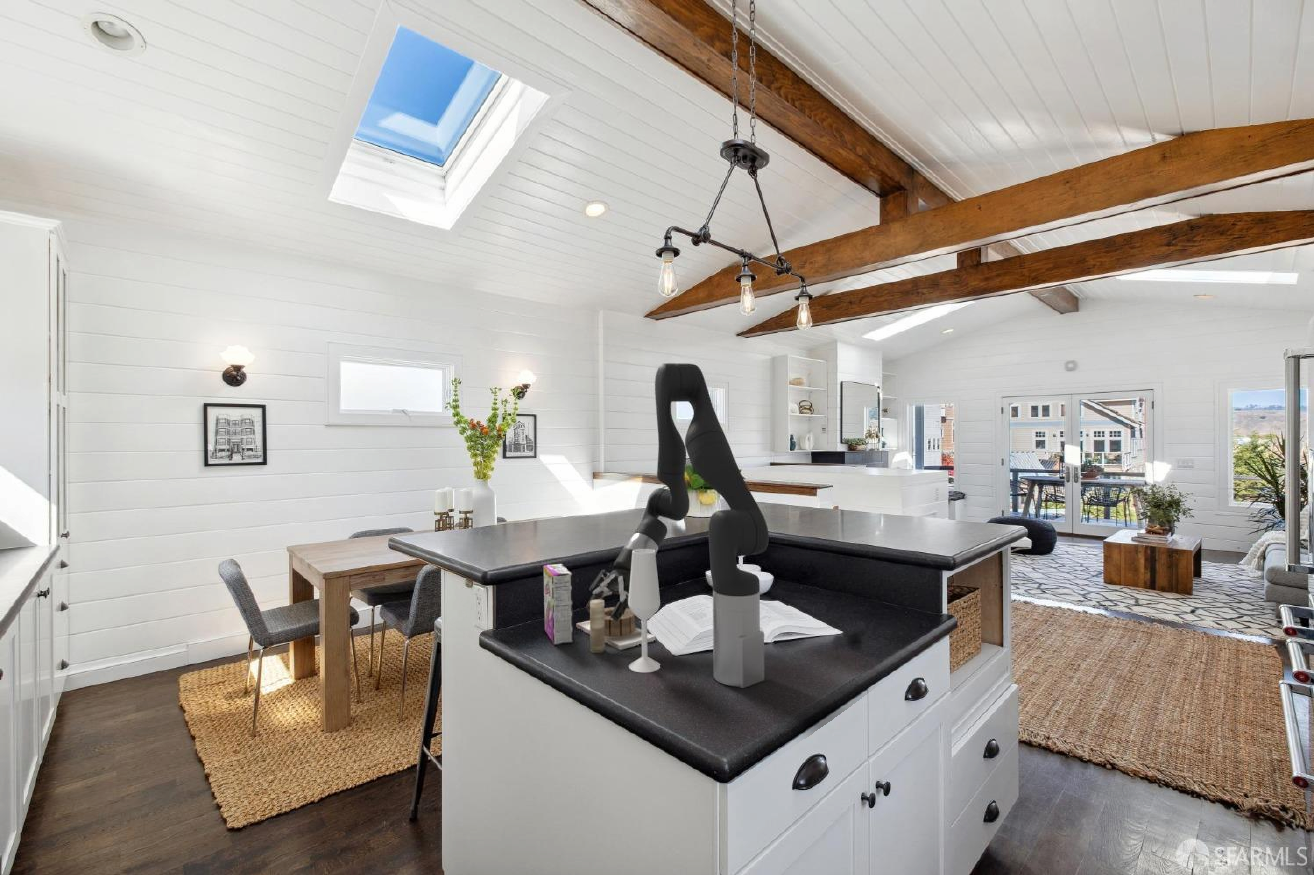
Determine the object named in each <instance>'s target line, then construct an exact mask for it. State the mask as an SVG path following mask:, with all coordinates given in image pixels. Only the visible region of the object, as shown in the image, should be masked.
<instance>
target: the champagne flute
mask: <svg viewBox="0 0 1314 875" xmlns="http://www.w3.org/2000/svg"><path fill="white" fill-rule="evenodd" d="M660 597H661V596H660V588H659V578H658V568H657V557H656V555H655V550H651V549H637V550H633V551H632V563H631V575H630V587H629V599H628V606H629V607H628V609H630V610H631V611H632V612H633V613H634V614H635V617H637V618H638V619H639V620H641V630H642V644H641V656H640V657H639V658H638V659H635V661H632V662H631V663H629V665H628V669H629V670H631V671H633V672H637V673H652V672H655V671H658V670H659V669H661V667H660V665H661V664H660V663H659V662H658V661H656V660H654V659H652V658H651V657H649V656H648V643H647V633H648V620H649V619H651V618H652V617H653V616H654V615H655V614H656V613H657V611H658V610H659V608H660V607H661V599H660Z"/></svg>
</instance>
